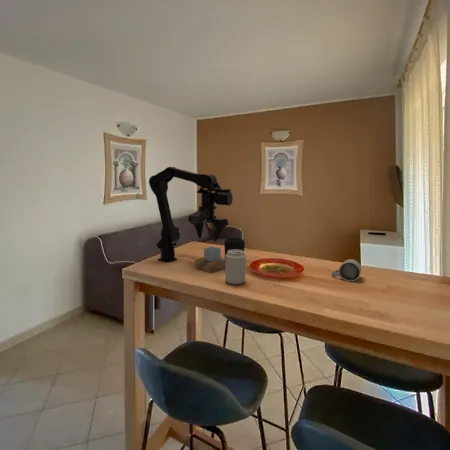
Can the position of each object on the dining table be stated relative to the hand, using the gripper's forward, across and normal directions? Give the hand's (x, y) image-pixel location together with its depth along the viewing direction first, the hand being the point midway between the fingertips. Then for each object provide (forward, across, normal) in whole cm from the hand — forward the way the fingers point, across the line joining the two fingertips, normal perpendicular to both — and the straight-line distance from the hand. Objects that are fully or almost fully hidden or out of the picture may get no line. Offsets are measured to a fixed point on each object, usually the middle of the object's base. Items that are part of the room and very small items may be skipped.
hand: (207, 239), depth 133 cm
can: (+12, +22, -8) cm, 26 cm away
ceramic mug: (+11, +53, +24) cm, 59 cm away
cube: (+8, +4, -1) cm, 9 cm away
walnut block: (+12, +4, -2) cm, 13 cm away
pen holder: (+12, +5, +14) cm, 18 cm away
